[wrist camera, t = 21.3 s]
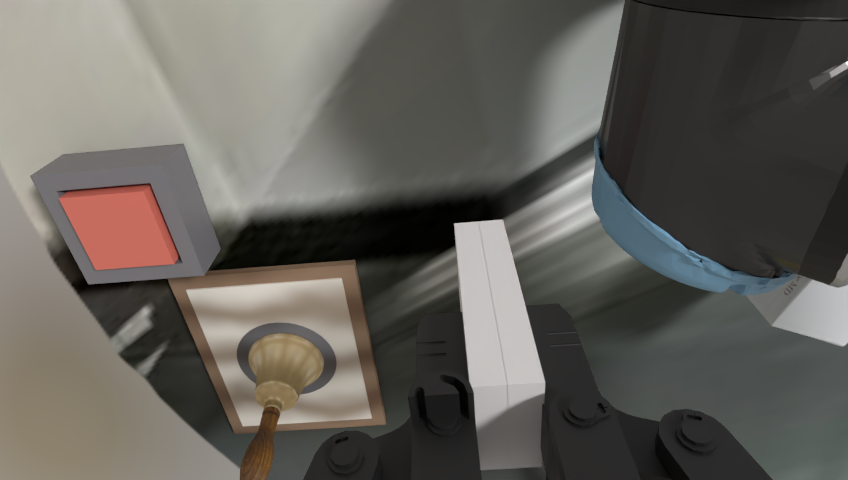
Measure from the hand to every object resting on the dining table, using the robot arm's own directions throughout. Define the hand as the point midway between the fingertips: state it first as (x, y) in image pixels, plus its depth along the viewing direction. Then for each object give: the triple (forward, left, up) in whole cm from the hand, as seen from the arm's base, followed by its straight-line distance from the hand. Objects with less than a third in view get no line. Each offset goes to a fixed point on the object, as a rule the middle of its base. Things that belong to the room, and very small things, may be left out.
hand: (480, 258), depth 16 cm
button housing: (+11, -29, -29) cm, 43 cm away
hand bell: (+31, -20, -29) cm, 47 cm away
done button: (+11, -29, -27) cm, 41 cm away
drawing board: (+31, -20, -29) cm, 47 cm away
